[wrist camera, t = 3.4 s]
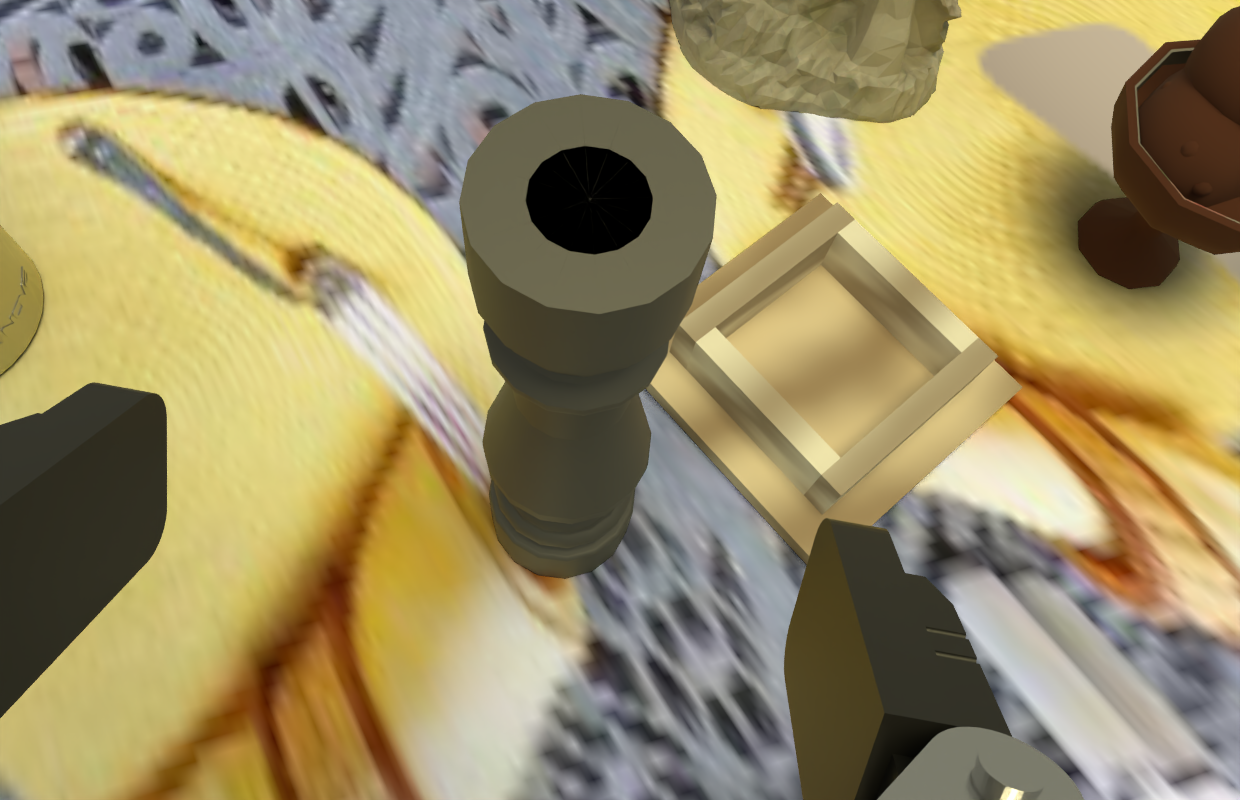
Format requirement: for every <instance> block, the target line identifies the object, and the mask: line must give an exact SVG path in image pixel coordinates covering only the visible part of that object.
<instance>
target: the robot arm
mask: <svg viewBox="0 0 1240 800" xmlns="http://www.w3.org/2000/svg"><path fill="white" fill-rule="evenodd" d="M43 295H44V293H43V288H42V283H41V278H40V275H39V273H38V271H37V269H36V267H35V265H34V263H33V261H32V260H31V259H30V258H29V257H28V255H27V254H26V253H25V252H24V251H23V250H22V249H21V248H20V247H19V246H18V244H17V243H16V242H15V241H14V240H13V239H12V238H11V237H10V236H9V234H8V233H7V232H6V231H5V230H4V229H3V228H2V227H1V226H0V374H2V373H3V372H4V371H5V370H7V369H8V368H9V367H10V366H11V365H12V364H13V363H14V362H15V361H16V360H17V359H18V357H19V356H20V355H21V354H22V353H23V352H24V350H25V349H26V348H27V346H28V345H29V343H30V341H31V339H32V338H33V336H34V334H35V332H36V330H37V327H38V324H39V321H40V318H41V315H42V310H43ZM166 514H167V414H166V407H165V404H164V401H163V399H162V398H161V397H160V396H159V395H158V394H155V393H150V392H144V391H139V390H133V389H128V388H122V387H117V386H111V385H106V384H100V383H89V384H87V385H86V386H84V387H82V388H81V389H79V390H78V391H76V392H75V393H73V394H72V395H70V396H69V397H67V398H66V399H64V400H63V401H61V402H60V403H58V404H56V405H55V406H53V407H52V408H50V409H49V410H47V411H46V412H44V413H43V414H39V413H37V414H33V415H30V416H27V417H24V418H21V419H18V420H15V421H11V422H8V423H5V424H2V425H0V718H1V717H2V716H3V715H4V714H5V713H6V711H7V710H8V709H9V708H10V707H11V706H12V705H13V704H14V703H15V702H16V701H17V700H18V699H19V698H20V697H21V696H22V695H23V693H24V692H25V691H26V690H27V689H28V688H29V687H30V686H31V685H32V684H33V683H34V682H35V681H36V680H37V679H38V678H39V676H40V675H41V674H42V673H43V672H44V671H45V670H46V669H47V668H48V667H49V666H50V665H51V664H52V663H53V662H54V661H55V659H56V658H57V657H58V656H59V655H60V654H61V653H62V652H63V651H64V650H65V649H66V648H67V647H68V646H69V645H70V644H71V642H72V641H73V640H74V639H75V638H76V637H77V636H78V635H79V634H80V633H81V632H82V631H83V630H84V629H85V628H86V627H87V626H88V624H89V623H90V622H91V621H92V620H93V619H94V618H95V617H96V616H97V615H98V614H99V613H100V612H101V611H102V610H103V609H104V607H105V606H106V605H107V604H108V603H109V602H110V601H111V600H112V599H113V598H114V597H115V596H116V595H117V594H118V593H119V592H120V590H121V589H122V588H123V587H124V586H125V585H126V584H127V583H128V582H129V581H130V580H131V579H132V578H133V577H134V576H135V575H136V573H137V572H138V571H139V570H140V569H141V568H142V567H143V566H144V565H145V564H146V563H147V562H148V561H149V559H150V558H151V557H152V555H153V554H154V552H155V550H156V548H157V546H158V544H159V542H160V539H161V536H162V533H163V530H164V526H165V521H166ZM965 637H966V632H965V630H964V628H963V626H962V624H961V621H960V619H959V617H958V615H957V612H956V610H955V608H954V606H953V604H952V603H951V602H950V601H949V600H948V599H947V598H946V597H945V596H944V595H943V594H942V593H941V592H940V591H939V590H938V589H937V588H936V587H935V586H934V585H933V584H932V583H931V582H930V581H929V580H928V579H927V578H926V577H923V576H918V575H912V574H907V573H905V572H904V570H903V567H902V565H901V562H900V559H899V557H898V554H897V552H896V549H895V547H894V544H893V541H892V539H891V536H890V534H889V532H888V531H887V530H886V529H884V528H879V527H873V526H868V525H862V524H857V523H851V522H846V521H840V520H835V519H829V518H825V519H824V520H823V521H822V522H821V524H820V526H819V528H818V530H817V533H816V536H815V539H814V542H813V546H812V549H811V553H810V556H809V559H808V563H807V566H806V570H805V573H804V577H803V580H802V584H801V587H800V591H799V594H798V597H797V601H796V604H795V608H794V611H793V615H792V618H791V622H790V625H789V630H788V634H787V640H786V647H785V658H784V675H785V683H786V690H787V696H788V703H789V709H790V716H791V723H792V729H793V736H794V742H795V749H796V755H797V762H798V769H799V775H800V782H801V788H802V795H803V800H1084V799H1083V797H1082V794H1081V792H1080V791H1079V789H1078V788H1077V786H1076V785H1075V783H1074V782H1073V781H1072V780H1071V779H1070V777H1069V776H1068V775H1067V774H1066V773H1065V772H1064V771H1063V770H1062V769H1061V768H1060V767H1059V766H1058V765H1057V764H1056V763H1054V762H1053V761H1052V760H1051V759H1049V758H1048V757H1047V756H1045V755H1044V754H1043V753H1041V752H1039V751H1038V750H1036V749H1035V748H1033V747H1032V746H1030V745H1028V744H1026V743H1024V742H1022V741H1020V740H1018V739H1016V738H1013V737H1012V735H1011V733H1010V731H1009V729H1008V726H1007V724H1006V722H1005V720H1004V718H1003V715H1002V713H1001V711H1000V709H999V706H998V704H997V702H996V700H995V697H994V695H993V693H992V691H991V688H990V686H989V684H988V682H987V679H986V677H985V675H984V673H983V671H982V668H981V666H980V664H976V659H977V657H976V655H975V653H974V650H973V648H972V646H971V644H970V641H969V640H968V639H965Z"/></svg>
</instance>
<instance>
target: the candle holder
mask: <svg viewBox="0 0 1240 800" xmlns="http://www.w3.org/2000/svg"><path fill="white" fill-rule="evenodd" d="M459 204H460V212H461V220H462V228H463V236H464V244H465V252H466V261H467V269H468V275H469V279H470V283H471V287H472V291H473V294H474V298H475V302H476V306H477V310H478V313H479V314H480V316H481V317H482V318H483V319H484V326H483V329H484V334H485V338H486V342H487V345H488V349H489V353H490V357H491V361H492V364H493V366H494V367H495V368H496V370H497V371H498V372H499V373H500V375H501V376H502V377H503V378H504V380H505V383H504V385H503V387H502V388H501V390H500V392H499V394H498V395H497V397H496V399H495V400H494V402H493V404H492V405H491V407H490V409H489V410H488V414H487V420H486V425H485V431H484V437H483V448H484V452H485V456H486V460H487V464H488V468H489V472H490V476H491V485H490V491H489V498H490V505H491V512H492V517H493V521H494V525H495V529H496V533H497V537H498V541H499V542H500V543H501V545H502V546H503V547H504V549H505V550H506V551H507V552H508V554H509V555H510V556H511V558H512V559H513V560H514V562H516V563H518V564H520V565H521V566H523V567H525V568H527V569H528V570H530V571H532V572H533V573H535V574H537V575H541V576H549V577H557V578H564V579H566V578H569V577H573V576H577V575H581V574H584V573H588V572H592V571H593V570H594V569H596V568H597V567H598V566H599V565H601V564H602V563H603V562H605V561H606V560H607V559H609V558H610V557H611V556H612V555H613V554H614V552H615V551H616V549H617V547H618V545H619V544H620V542H621V540H622V538H623V537H624V535H625V533H626V530H627V527H628V525H629V522H630V519H631V516H632V512H633V503H634V494H635V488H636V486H637V484H638V482H639V481H640V479H641V477H642V476H643V474H644V472H645V470H646V468H647V465H648V458H649V449H650V440H651V431H650V428H649V425H648V422H647V418H646V415H645V412H644V409H643V406H642V403H641V400H640V397H639V393H640V392H641V391H643V390H644V389H646V388H647V387H648V386H649V385H650V383H651V382H652V380H653V378H654V377H655V375H656V373H657V372H658V370H659V368H660V366H661V365H662V363H663V361H664V360H665V358H666V356H667V353H668V346H669V340H671V338H672V337H673V335H674V333H675V332H676V330H677V328H678V327H679V325H680V323H681V322H682V320H683V318H684V317H685V315H686V313H687V312H688V310H689V308H690V307H691V305H692V302H693V299H694V296H695V293H696V290H697V286H698V283H699V280H700V277H701V274H702V271H703V267H704V264H705V261H706V258H707V255H708V252H709V248H710V245H711V242H712V239H713V230H714V218H715V207H716V193H715V190H714V188H713V185H712V182H711V180H710V177H709V174H708V172H707V169H706V166H705V164H704V161H703V158H702V156H701V154H700V153H699V152H698V151H697V150H696V149H695V148H694V147H693V146H692V145H691V144H690V143H689V142H688V141H687V139H686V138H685V137H684V136H683V135H682V134H681V133H680V132H679V131H678V130H677V129H676V128H675V127H674V126H673V125H672V124H671V122H669V121H667V120H665V119H663V118H661V117H659V116H657V115H655V114H653V113H651V112H649V111H647V110H645V109H643V108H641V107H639V106H637V105H635V104H633V103H631V102H629V101H623V100H616V99H609V98H602V97H595V96H588V95H581V94H580V95H575V96H569V97H563V98H558V99H552V100H547V101H541V102H535V103H533V104H531V105H529V106H528V107H526V108H524V109H522V110H521V111H519V112H517V113H515V114H514V115H512V116H510V117H509V118H507V119H505V120H503V121H502V122H500V123H498V124H496V125H495V126H494V127H493V128H492V130H491V131H490V132H489V133H488V135H487V136H486V137H485V139H484V140H483V141H482V143H481V144H480V145H479V147H478V148H477V149H476V151H475V152H474V153H473V154H472V156H471V157H470V158H469V160H468V163H467V168H466V173H465V177H464V182H463V187H462V192H461V197H460V202H459Z"/></svg>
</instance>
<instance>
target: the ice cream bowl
mask: <svg viewBox="0 0 1240 800" xmlns="http://www.w3.org/2000/svg"><path fill="white" fill-rule="evenodd" d="M1111 130H1112V147H1113V148H1112V149H1113V169H1114V178H1115V180H1116V182H1117V183H1118V185H1119V187H1120V188H1121V190H1122V191H1123V192H1124V194H1125V195H1126V196H1127V198H1117V199H1107V200H1101V201H1099V202H1097V203H1095V204H1094V205H1093V206H1092V207H1091V208H1090V210H1089V211H1088V212H1087V213H1086V214H1085V215H1084V216H1083V217H1082V218H1081V219H1080V220H1079V221H1078V237H1079V250H1080V251H1081V252H1082V254H1083V255H1084V256H1085V258H1086V259H1087V260H1088V262H1089V263H1090V264H1091V266H1092V267H1093V268H1094V270H1095V271H1096V272H1097V273H1098V275H1100V276H1102V277H1104V278H1107V279H1109V280H1111V281H1113V282H1115V283H1118V284H1120V285H1122V286H1124V287H1126V288H1128V289H1133V288H1142V287H1151V286H1159V285H1160V284H1161V283H1162V282H1163V281H1164V280H1165V279H1166V277H1167V276H1168V275H1169V274H1170V273H1171V272H1172V271H1173V269H1174V268H1175V267H1176V266H1177V264H1178V262H1179V260H1180V257H1179V244H1178V239H1179V240H1181V241H1183V242H1185V243H1188V244H1190V245H1192V246H1194V247H1196V248H1199V249H1202V250H1204V251H1207V252H1209V253H1212V254H1214V255H1215V254H1224V253H1233V252H1240V6H1239V7H1236V8H1233V9H1231V10H1229V11H1228V12H1226V13H1225V14H1223V15H1222V16H1220V17H1219V18H1218V19H1217V21H1216V22H1215V23H1214V24H1213V26H1212V27H1211V28H1210V29H1209V30H1208V32H1207V33H1206V34H1205V35H1204V36H1203V38H1202V39H1201V40H1190V41H1177V42H1165V43H1164V44H1163V45H1162V46H1161V47H1160V48H1159V49H1158V50H1157V51H1156V52H1155V53H1154V54H1153V55H1152V56H1151V57H1150V58H1149V59H1148V60H1147V61H1146V62H1145V63H1144V64H1143V65H1142V66H1141V67H1140V69H1138V70H1137V71H1136V72H1135V73H1134V74H1133V75H1132V76H1131V78H1130V79H1128V80H1127V81H1126V82H1125V85H1124V87H1123V89H1122V91H1121V93H1120V95H1119V97H1118V99H1117V101H1116V103H1115V105H1114V111H1113V118H1112V126H1111Z"/></svg>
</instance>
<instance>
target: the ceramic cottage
mask: <svg viewBox="0 0 1240 800" xmlns="http://www.w3.org/2000/svg"><path fill="white" fill-rule="evenodd" d="M669 2H670V8H671V15H672V24H673V27H674V30H675V33H676V37H677V39H679V40H678V42H679V43H680V44H681V47H680V49H681V51H682V53H683V55H684V56H685V58H686V59H687V61H688V62H689V64H690V65H691V67H692V68H693V69H695V70H696V71H697V72H698V73H699V74H700V75H702V76H703V77H704V78H705V79H706V80H708V81H709V82H710V83H711V84H713V85H714V86H715V87H717V88H718V89H720V90H721V91H724V92H725V93H726V94H728V95H730V96H731V97H733V98H735V99H737V100H739V101H741V102H744V103H746V104H748V105H751V106H759V107H760V108H761V109H775V110H781V111H790V112H792V111H799V112H800V113H810V114H816V115H819V116H824V117H830V118H838V117H840V118H846V119H852V120H860V121H871V122H878V123H885V122H893V121H896V120H900V119H903V118H906V117H911V115H912V114H913V115H914V114H915V113H916V112H917V111H918V110H919V109H920V108H921V107H922V106H923V105H924V104H926V103H927V102H928V100H929V98H930V97H931V94H932V93H933V92H934V91H935V90H936V82H937V74H938V70H939V65H940V62H941V59H942V56H943V52H944V51H943V48H942V43H943V42H945V39H946V35H947V30H948V26H949V24H948V22H947V21H949V20H952V19H956V18H959V17H961V9H960V7H959V6H958V0H669Z"/></svg>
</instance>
